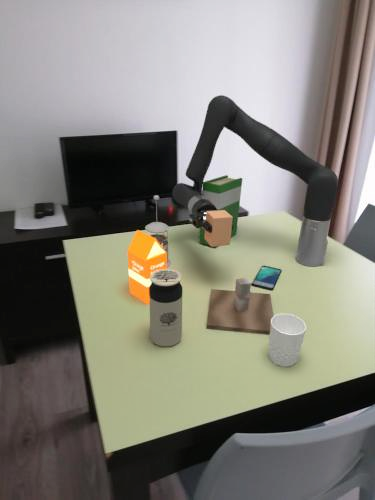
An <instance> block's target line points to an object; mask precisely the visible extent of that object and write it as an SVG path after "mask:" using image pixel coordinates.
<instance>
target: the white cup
mask: <svg viewBox="0 0 375 500" xmlns="http://www.w3.org/2000/svg"><path fill="white" fill-rule="evenodd" d="M306 330H307V324H306V323H305V321H304V320H303V319H301V318H300V317H298V316H297V315H295V314H291V313H277V314H275V315H273V317H272V319H271V324H270V335H269V336H268V353H267V355H268V357H269V360H270V361H271V362H272V363H273V364H275V365H277V366H279V367H283V368H288V367H292V366H294V365H295V364H296V363H297V362H298V357H299V354H300V352H301V348H302V345H303V341H304V339H305V338H304V337H305V333H306Z"/></svg>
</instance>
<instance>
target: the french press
mask: <svg viewBox="0 0 375 500" xmlns="http://www.w3.org/2000/svg"><path fill="white" fill-rule="evenodd" d="M153 200H155V209H156V212H155V216H156V218H155V219H156V221H153V222H151V223H149V224H147V225H145V227H144V229H145V231H147V232H148V233H150V234H149V235H150V236H152V237H154V238H156V240H157V241H158V242H159V244H160V245H161V246H162V248H163V249H164V250H165V252H167V268H169V267H171V265H172V261H171V260H170V259H169V241H168V237H169V235H168V230H169V227H170V226H169V225H167V224H166V223H163V222H161V221H158V204H157V203H158V201H157V200H160V196H159V195H157V194H156V195H153ZM165 232H166V235H165V234H164V233H165ZM151 233H152V234H151Z"/></svg>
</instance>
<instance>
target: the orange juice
mask: <svg viewBox="0 0 375 500" xmlns="http://www.w3.org/2000/svg"><path fill="white" fill-rule="evenodd" d="M150 235H151V234H148V233H145V232H143V231H141V230H139V229H137V230H136V232H135V233H134V235H133V237H132V240H131V242H130V244H129V246H128V249H127V250H126V251H127V262H128V263H127V264H128V271H127V272H128V279H129V280H128V283H129V293H130V294H131V295H133V296H134V297H136V299H137V298H138V299H139V300H140V301H141V302H143V303H144V304H146V305H147V306H148V305H150V302H149V287H150V285H151V283H152V282H151V280H150V275H151V274H152V273H153V272H155V271H157V270H160V269H168V267H167V252H165V250H164V249H163V248H162V246H163V245H162V244H161V245H160V244H159V242H158V241H157V240H156V238H154V237H152V236H150Z"/></svg>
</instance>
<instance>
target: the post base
mask: <svg viewBox="0 0 375 500" xmlns="http://www.w3.org/2000/svg"><path fill="white" fill-rule="evenodd" d="M251 284H252V282H251V281H250V280H249V279H248V278H247V277H242V278H236V280H235V287H234V288H235V290H227V289H217V288H216V289H215V288H211V290H210V295H209V296H210V297H209V304H208V312H207V318H206V319H207V321H206V329H208V330H209V329H210V330H218V331H227V332H228V331H229V332H236V333H237V332H239V333H249V334H256V335H257V334H259V335H270V324H271V319H272V317H273V316H274V309H273V303H272V297H271V296H272V295H271V293H263V292H262V293H261V292H253V291H251V286H252V285H251Z"/></svg>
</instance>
